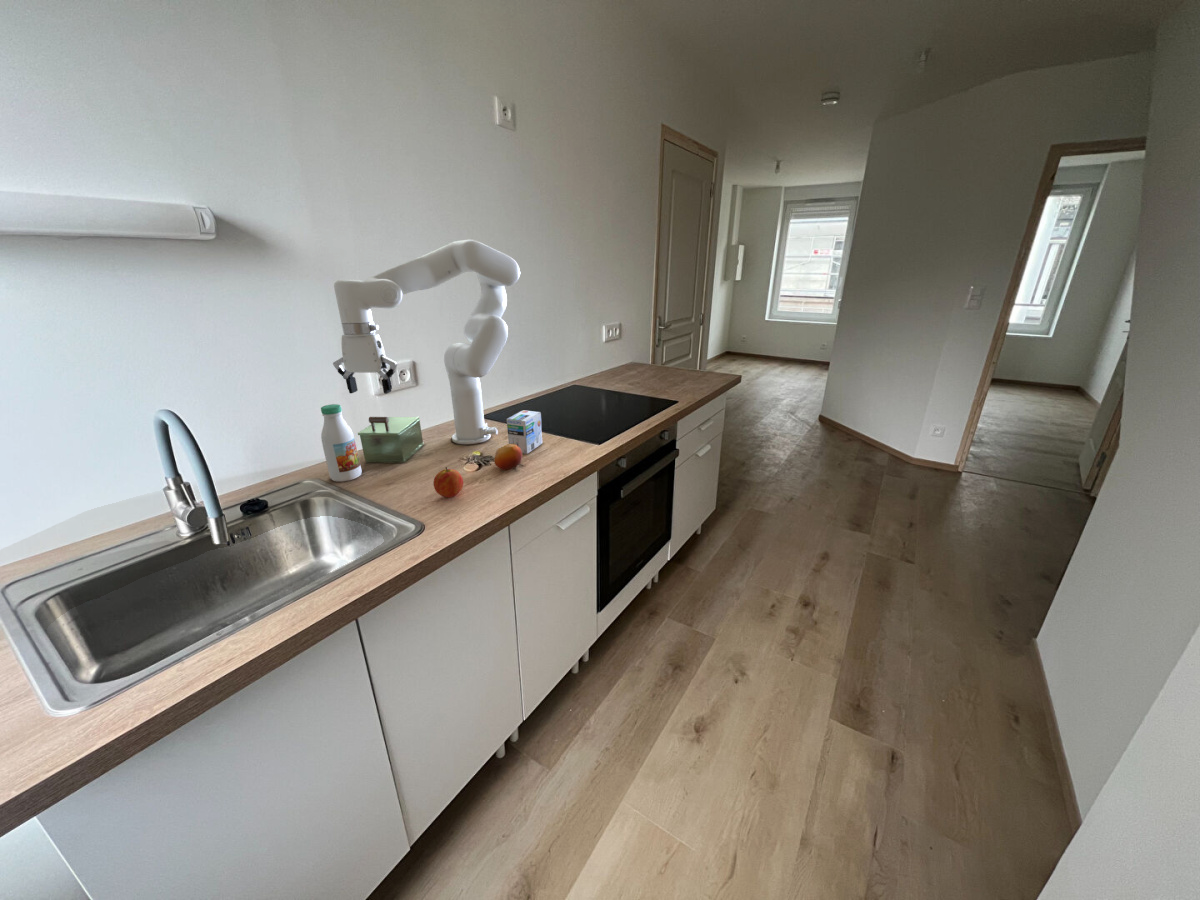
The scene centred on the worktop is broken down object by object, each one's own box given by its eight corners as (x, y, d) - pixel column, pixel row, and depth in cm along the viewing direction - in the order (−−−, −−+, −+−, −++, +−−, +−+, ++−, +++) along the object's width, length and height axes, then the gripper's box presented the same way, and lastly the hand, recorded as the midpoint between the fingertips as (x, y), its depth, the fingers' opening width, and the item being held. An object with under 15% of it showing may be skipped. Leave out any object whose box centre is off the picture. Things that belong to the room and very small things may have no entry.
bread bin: (404, 462, 133) (399, 434, 130) (365, 462, 133) (359, 434, 130) (423, 445, 146) (419, 419, 143) (388, 445, 147) (383, 419, 143)
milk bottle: (329, 484, 119) (311, 411, 112) (332, 473, 126) (315, 404, 119) (361, 479, 122) (346, 408, 115) (363, 468, 129) (348, 400, 121)
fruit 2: (523, 469, 124) (507, 445, 122) (501, 481, 127) (485, 457, 125) (533, 458, 131) (518, 435, 130) (512, 469, 134) (497, 447, 132)
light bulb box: (527, 454, 138) (525, 421, 135) (508, 451, 141) (505, 418, 137) (543, 443, 148) (541, 411, 144) (525, 440, 150) (522, 409, 146)
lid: (398, 435, 129) (395, 419, 127) (358, 435, 129) (354, 418, 127) (419, 419, 143) (417, 404, 141) (383, 419, 143) (380, 404, 142)
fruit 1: (438, 490, 116) (434, 461, 113) (466, 488, 117) (463, 460, 114) (433, 503, 109) (428, 473, 106) (462, 501, 110) (458, 471, 107)
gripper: (397, 328, 123) (407, 389, 129) (334, 327, 123) (347, 389, 130) (384, 331, 116) (395, 396, 122) (318, 331, 116) (332, 395, 123)
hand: (370, 392), depth 126 cm, fingers open, 9 cm apart
